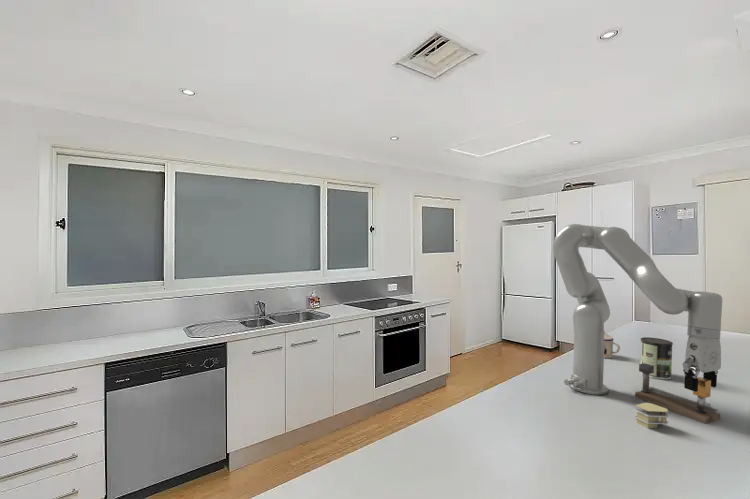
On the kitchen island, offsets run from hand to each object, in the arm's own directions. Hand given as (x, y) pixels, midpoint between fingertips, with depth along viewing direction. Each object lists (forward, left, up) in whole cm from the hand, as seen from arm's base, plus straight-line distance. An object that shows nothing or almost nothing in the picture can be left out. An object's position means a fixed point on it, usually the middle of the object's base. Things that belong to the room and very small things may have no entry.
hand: (700, 387), depth 113 cm
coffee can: (+26, +28, -9) cm, 39 cm away
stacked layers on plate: (-20, +2, -9) cm, 22 cm away
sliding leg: (+1, 0, -7) cm, 7 cm away
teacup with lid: (+30, +52, -9) cm, 61 cm away
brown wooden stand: (0, +7, -9) cm, 11 cm away
